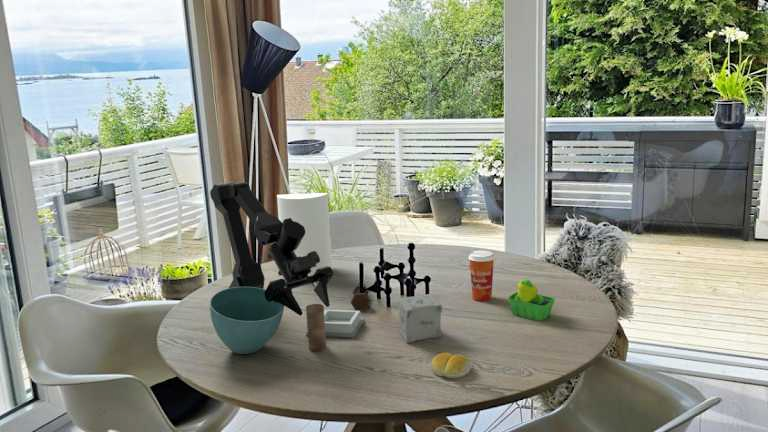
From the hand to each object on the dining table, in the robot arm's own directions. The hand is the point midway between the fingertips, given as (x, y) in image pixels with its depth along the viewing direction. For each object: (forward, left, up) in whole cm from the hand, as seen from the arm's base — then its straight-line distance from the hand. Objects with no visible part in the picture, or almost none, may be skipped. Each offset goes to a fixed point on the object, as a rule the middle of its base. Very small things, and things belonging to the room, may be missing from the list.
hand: (315, 310), depth 172 cm
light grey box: (+25, +10, -10) cm, 29 cm away
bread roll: (+35, -10, -10) cm, 38 cm away
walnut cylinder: (0, 0, -10) cm, 10 cm away
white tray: (+1, +13, -10) cm, 16 cm away
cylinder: (-23, +63, -10) cm, 67 cm away
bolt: (+3, +35, -10) cm, 37 cm away
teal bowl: (-19, -4, -9) cm, 21 cm away
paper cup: (+39, +41, -10) cm, 57 cm away
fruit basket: (+53, +28, -10) cm, 61 cm away
